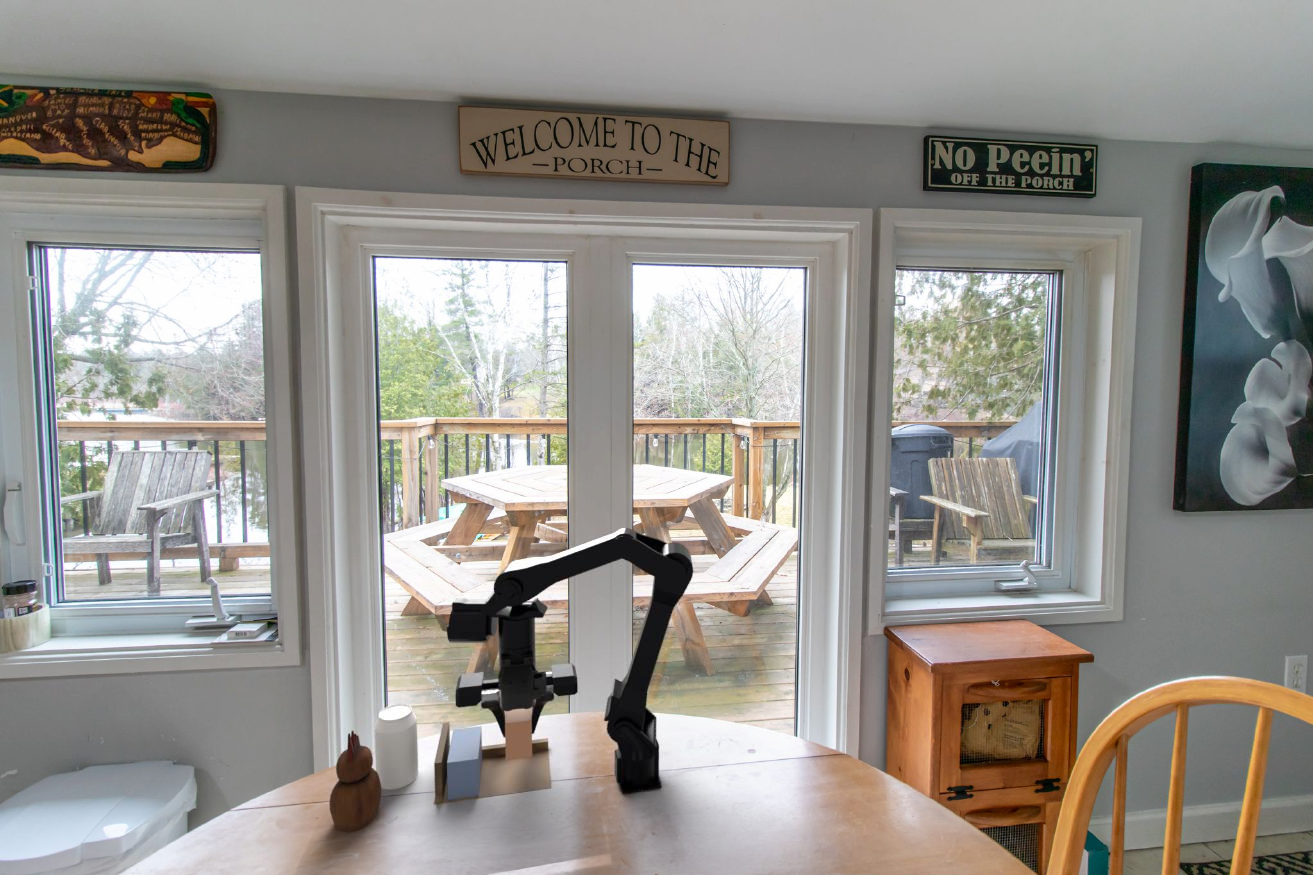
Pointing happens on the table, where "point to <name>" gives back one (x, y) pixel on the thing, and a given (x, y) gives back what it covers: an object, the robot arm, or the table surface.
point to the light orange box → (518, 734)
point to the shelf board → (496, 770)
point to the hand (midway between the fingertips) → (518, 734)
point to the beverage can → (396, 746)
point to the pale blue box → (464, 763)
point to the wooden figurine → (355, 788)
